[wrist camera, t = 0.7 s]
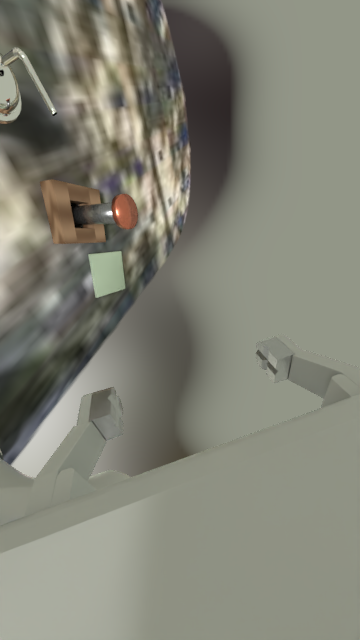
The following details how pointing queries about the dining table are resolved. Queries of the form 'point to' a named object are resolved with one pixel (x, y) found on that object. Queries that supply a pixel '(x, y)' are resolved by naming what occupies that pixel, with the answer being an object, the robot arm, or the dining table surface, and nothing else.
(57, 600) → the robot arm
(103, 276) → the mat
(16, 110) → the cup with straw
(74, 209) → the peg
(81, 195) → the collar
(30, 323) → the dining table surface
